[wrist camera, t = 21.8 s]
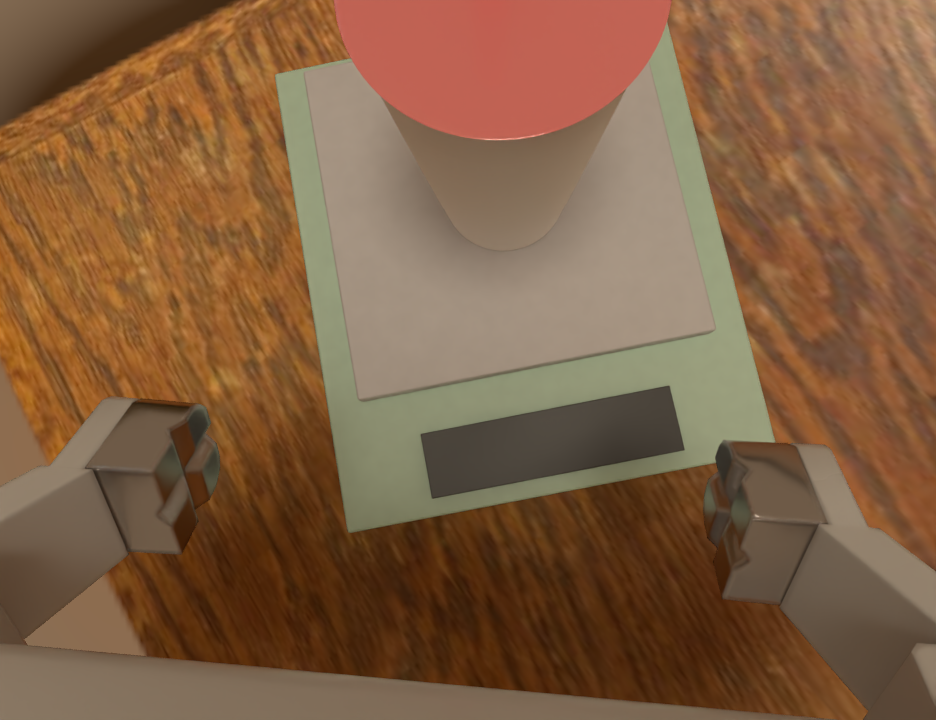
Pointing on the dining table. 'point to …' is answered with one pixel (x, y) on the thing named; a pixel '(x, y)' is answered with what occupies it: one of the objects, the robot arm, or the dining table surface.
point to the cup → (501, 96)
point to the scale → (515, 312)
